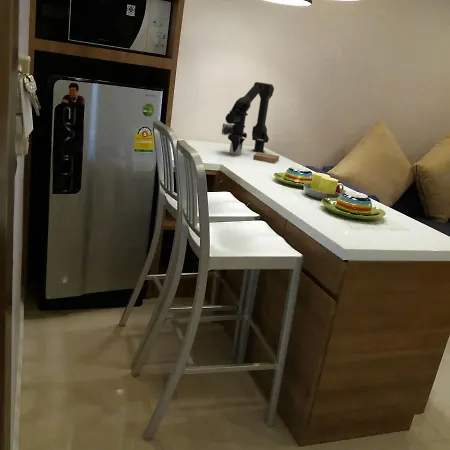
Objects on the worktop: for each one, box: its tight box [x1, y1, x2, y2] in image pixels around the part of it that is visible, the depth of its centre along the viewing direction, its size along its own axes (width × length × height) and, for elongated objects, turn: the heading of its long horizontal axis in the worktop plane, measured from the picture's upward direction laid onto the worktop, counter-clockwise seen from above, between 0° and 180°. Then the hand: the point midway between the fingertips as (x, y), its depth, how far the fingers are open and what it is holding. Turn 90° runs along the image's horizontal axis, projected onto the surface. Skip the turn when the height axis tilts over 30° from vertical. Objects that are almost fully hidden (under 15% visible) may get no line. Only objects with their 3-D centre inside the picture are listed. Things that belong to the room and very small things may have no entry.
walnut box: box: [252, 152, 280, 164], centre depth 287 cm, size 12×12×3 cm
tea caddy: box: [228, 142, 243, 156], centre depth 291 cm, size 6×6×6 cm
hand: (235, 151), depth 291 cm, fingers closed on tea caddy, 5 cm apart
